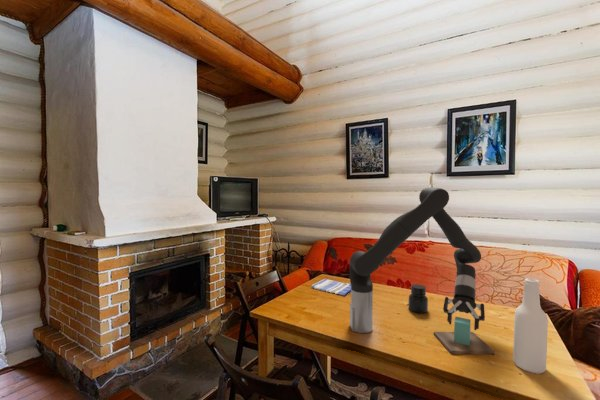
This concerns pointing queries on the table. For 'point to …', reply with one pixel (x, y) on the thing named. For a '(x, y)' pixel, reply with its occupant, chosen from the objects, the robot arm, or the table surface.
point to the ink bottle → (418, 299)
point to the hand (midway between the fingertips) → (462, 326)
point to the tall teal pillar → (462, 330)
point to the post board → (457, 348)
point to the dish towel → (333, 287)
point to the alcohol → (530, 331)
